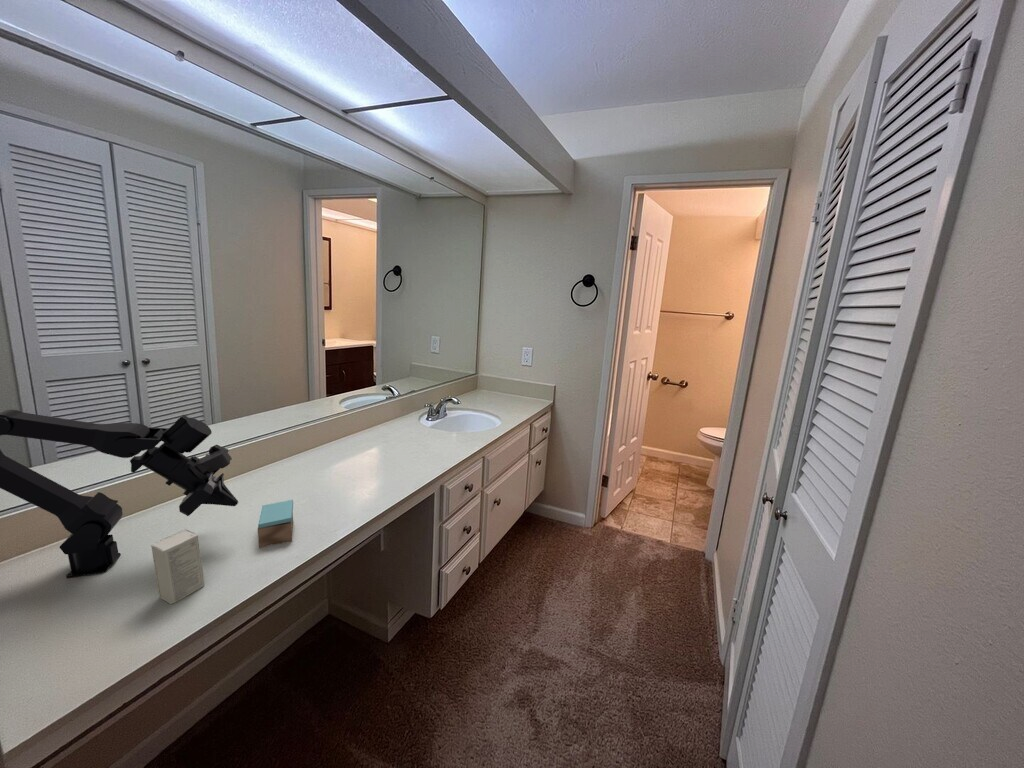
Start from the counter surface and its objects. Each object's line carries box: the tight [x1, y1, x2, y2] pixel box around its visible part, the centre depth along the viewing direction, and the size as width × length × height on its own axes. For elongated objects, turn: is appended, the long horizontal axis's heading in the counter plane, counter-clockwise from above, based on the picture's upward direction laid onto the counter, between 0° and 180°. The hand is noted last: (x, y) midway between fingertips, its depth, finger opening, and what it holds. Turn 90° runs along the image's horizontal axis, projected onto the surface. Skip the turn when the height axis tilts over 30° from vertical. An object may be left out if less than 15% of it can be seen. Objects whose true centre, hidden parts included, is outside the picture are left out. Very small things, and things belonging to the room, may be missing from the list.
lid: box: [257, 499, 294, 528], centre depth 102 cm, size 7×9×1 cm
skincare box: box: [150, 528, 205, 605], centre depth 81 cm, size 6×4×12 cm
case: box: [257, 513, 294, 548], centre depth 103 cm, size 7×9×5 cm
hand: (236, 504), depth 98 cm, fingers closed
